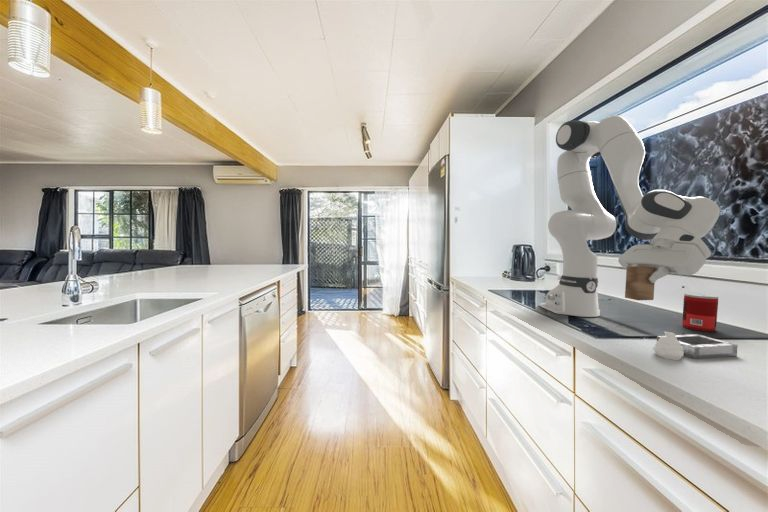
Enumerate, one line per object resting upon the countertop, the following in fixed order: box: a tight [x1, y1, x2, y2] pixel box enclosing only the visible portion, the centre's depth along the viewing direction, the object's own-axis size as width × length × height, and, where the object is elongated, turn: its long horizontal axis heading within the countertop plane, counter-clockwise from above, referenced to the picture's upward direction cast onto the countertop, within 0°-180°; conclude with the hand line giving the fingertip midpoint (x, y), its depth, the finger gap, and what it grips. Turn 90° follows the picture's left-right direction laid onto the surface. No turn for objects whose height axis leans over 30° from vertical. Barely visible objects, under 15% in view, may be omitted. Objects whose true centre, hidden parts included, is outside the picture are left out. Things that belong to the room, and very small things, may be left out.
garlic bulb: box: [653, 331, 684, 361], centre depth 80 cm, size 6×6×5 cm
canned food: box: [681, 292, 719, 332], centre depth 106 cm, size 8×8×11 cm
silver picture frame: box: [656, 333, 739, 360], centre depth 84 cm, size 9×13×3 cm
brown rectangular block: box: [624, 266, 656, 301], centre depth 91 cm, size 4×5×9 cm
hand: (639, 279), depth 91 cm, fingers closed on brown rectangular block, 4 cm apart
